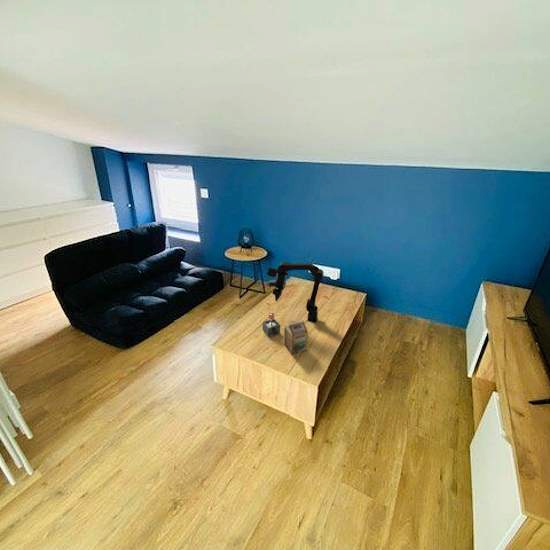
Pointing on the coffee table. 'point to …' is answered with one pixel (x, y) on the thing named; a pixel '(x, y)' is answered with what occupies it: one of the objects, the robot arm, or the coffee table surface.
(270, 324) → the plunger
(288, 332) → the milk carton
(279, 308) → the coffee table surface
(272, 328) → the press
